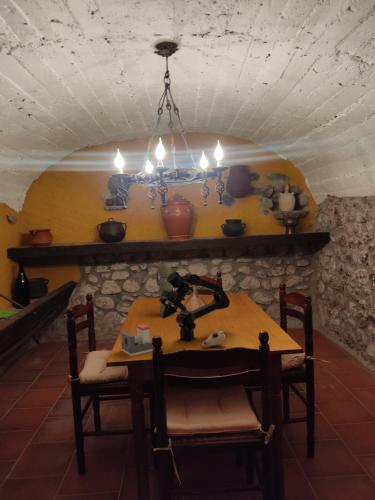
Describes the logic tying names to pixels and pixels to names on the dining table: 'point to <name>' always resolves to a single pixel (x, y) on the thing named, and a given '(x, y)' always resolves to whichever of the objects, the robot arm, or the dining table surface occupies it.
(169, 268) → the thermos
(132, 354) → the board
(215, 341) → the pottery oil lamp
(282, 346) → the dining table surface
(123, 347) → the grey toy building
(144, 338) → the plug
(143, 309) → the dining table surface
